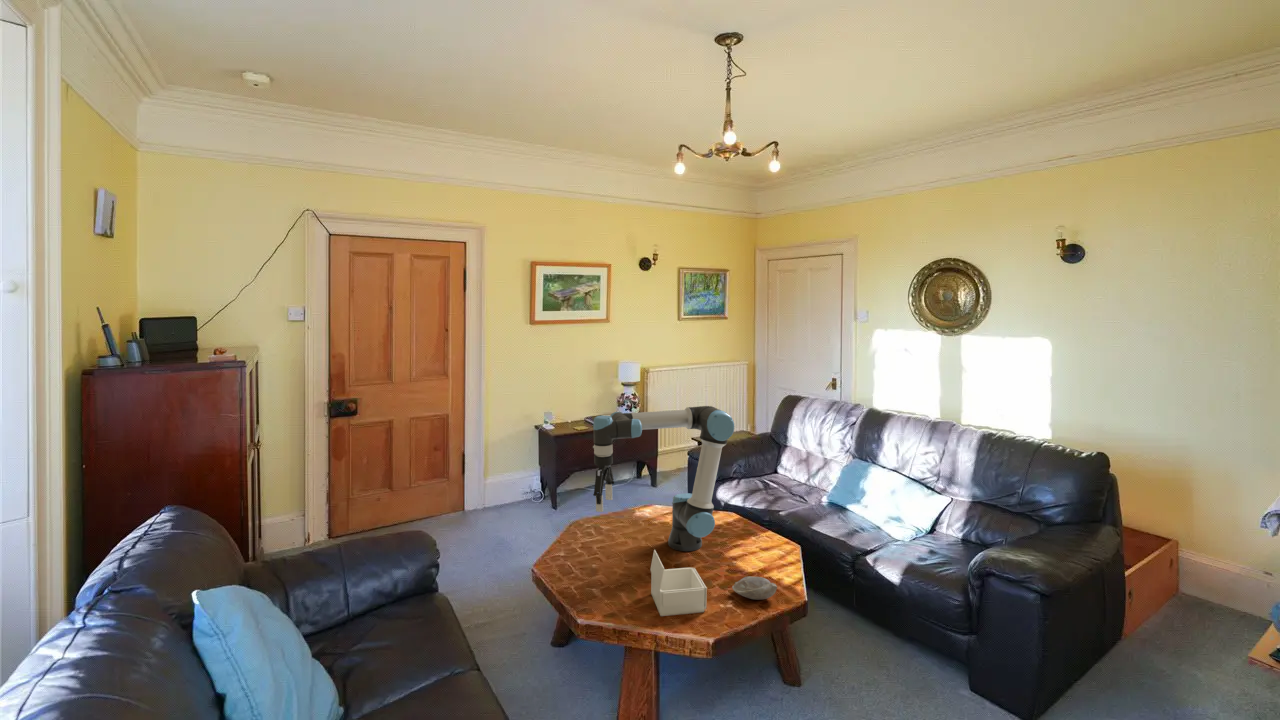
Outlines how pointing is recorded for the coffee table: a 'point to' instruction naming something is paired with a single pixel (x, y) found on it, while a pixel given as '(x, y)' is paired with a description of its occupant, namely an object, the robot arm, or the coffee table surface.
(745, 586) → the seashell
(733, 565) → the coffee table surface
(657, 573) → the flap
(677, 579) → the white open box
